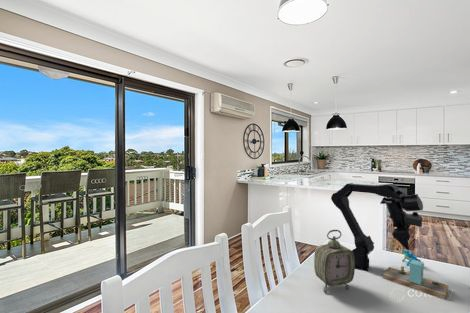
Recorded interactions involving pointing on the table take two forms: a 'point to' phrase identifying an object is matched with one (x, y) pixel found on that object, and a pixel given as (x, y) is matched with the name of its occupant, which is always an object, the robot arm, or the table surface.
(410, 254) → the blue irregular piece
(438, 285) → the board
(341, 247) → the tabletop clock
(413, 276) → the block
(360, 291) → the table surface
